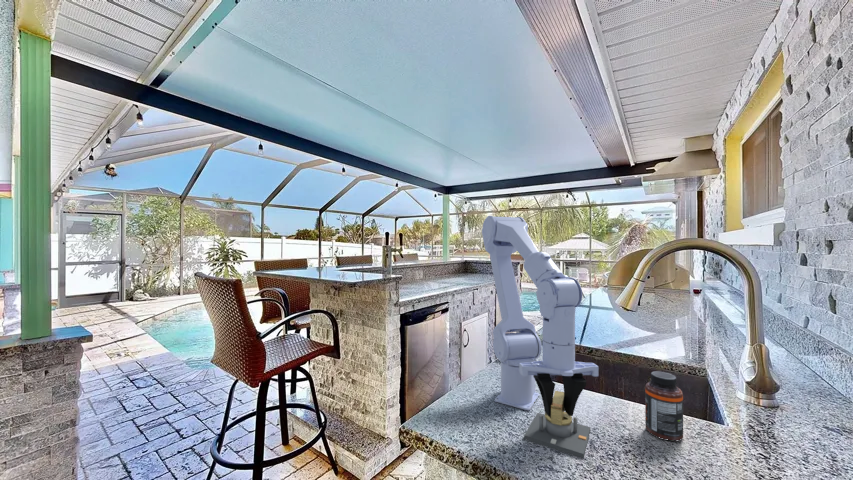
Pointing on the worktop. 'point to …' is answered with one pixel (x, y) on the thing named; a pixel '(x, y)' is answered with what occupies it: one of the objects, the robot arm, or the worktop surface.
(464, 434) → the worktop surface
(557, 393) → the lever handle
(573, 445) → the post base
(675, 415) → the supplement bottle
